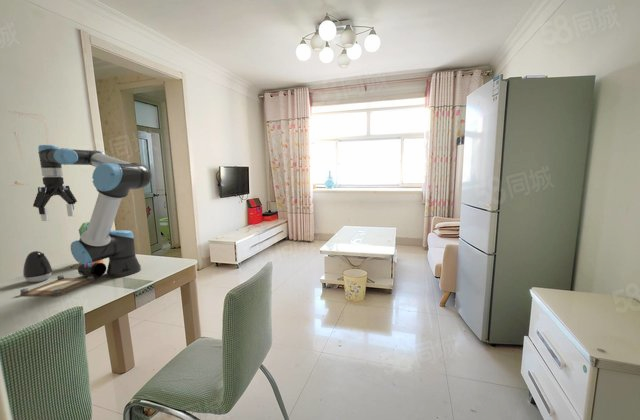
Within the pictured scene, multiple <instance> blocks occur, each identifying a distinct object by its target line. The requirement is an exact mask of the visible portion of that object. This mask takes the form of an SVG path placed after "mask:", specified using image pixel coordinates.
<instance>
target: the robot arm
mask: <svg viewBox="0 0 640 420" xmlns="http://www.w3.org/2000/svg"><path fill="white" fill-rule="evenodd" d="M37 150H38V156H39V163H40V169H41V176H42V184H43V185H44V186H38V187H37V194H36V195H35V198H34V201H33V204H32V207H34V208H37V209H38V214H39V215H40V218H41V222H47V221H49V216H48V208H47V207H46V205H47V203H48V202H49V201H50V199H51V198H52V197H53V196H59V197H61V199H62V200H64V201H65V203H66V204H65V205H66V206H65V207H66V212H67V217H74V216H75V213H74V209H75V204H76V203H77V202H78V200H77V199H76V197H75V195H74V194H73V193H72V191H71V189H70V185H65V184H64V183H65V182H64V181H65V180H64V177H63V175H64V174H63V168H62V165H64V166H65V165H68V166H69V165H73V166H75V165H77V166H92V167H95V169H94V170H93V172H92V184H93V186H94V188H95V189H96V191H97V192H98V195H97V198H96V201H95V204H94V208H93V210H92V214H91V217H90V220H89V221H88V222H89V225H88V229H87V231H86V232H84V233H82V234H81V237H80V236H79V240H74V241H72V242H71V243H70V252H71V254H72V256H73V259H74V260H75V261H76V262H77V263H78V264H80V265H81V264H87V263H92V262H95V261H99V260H102V259H103V260H105V259H108V265H107V268H106V277H108V278H121V277H126V276H131V275H135V274H137V273H139V272H140V271H141V270H142V265H141V264H140V263H139V261H138V259H137V255H136V248H135V237H134V233H133V231H131V230H128V229H127V230H126V229H122V230H121V229H120V230H119V229H118V230H116V229H115V230H111V229H112V227H113V225H114V222H115V219H116V216H117V214H118V210H119V208H120V205H121V202H122V200H123V199H124V198H125V199H126V198H127V197H128V196H129V192H130V190H136V189H143V188H145V187H147V186H149V184H150V183H151V181H152V179H153V174H152V171H151V170H150V169H149V166H147V165H145V164H141V163H138V162H128V161H125V160H122V159H119V158H117V157H113V156H110V155H107V154H106V153H105V152H104V151H101V150H94V149H93V150H89V149H88V150H87V149H86V150H85V149H72V148H64V147H63V148H62V147H61V148H59V146H58V145H52V144H39V145H38V147H37Z"/></svg>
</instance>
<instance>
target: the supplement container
mask: <svg viewBox="0 0 640 420" xmlns="http://www.w3.org/2000/svg"><path fill="white" fill-rule="evenodd" d="M77 272H78V274H79V276H82V277H84V276H85V277H86V276H87V277H88V276H93V277H102V276H103V275H104V274H105V273H107V265H106V264H105V263H103V262H102V263H87V264H80V265H78V268H77Z"/></svg>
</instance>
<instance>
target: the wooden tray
mask: <svg viewBox="0 0 640 420" xmlns="http://www.w3.org/2000/svg"><path fill="white" fill-rule="evenodd" d="M56 278H57V279H56V280H53V281H50V282H48V283H45V284H42V285H40V286H36V287H34V288H31V289H29V288H27V287H26V288H23V289H20V290H19V291H20V297H22V296H23V297H56V296H58V297H60V296H63V295H65V294H67V293H69V292H72V291H73V290H76V289H79V288H81V287H83V286H86V285H88V284H91V283H92V282H94V281H95V276H87V278H80V277H79V278H75V277H73V278H72V277H70V278H69V277H65V275H64V274H63V275H62V274H60V275H57V277H56ZM64 293H65V294H64ZM62 294H63V295H62Z"/></svg>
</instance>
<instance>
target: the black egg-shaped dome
mask: <svg viewBox="0 0 640 420" xmlns="http://www.w3.org/2000/svg"><path fill="white" fill-rule="evenodd" d="M52 272H53V268H52V264H51V263H50V261H49V259H48V258H47V256H46V255H45V253H43V252H42V251H37V250H35V251H31V252H29V253H28V254H27V256H26V258H25V260H24V264H23V271H22V276H23V277H24V279H25V280H26V281H27V282H29V283H41V282H43V281H47V280H48V279H49V278H50V277H51V275H52Z"/></svg>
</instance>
